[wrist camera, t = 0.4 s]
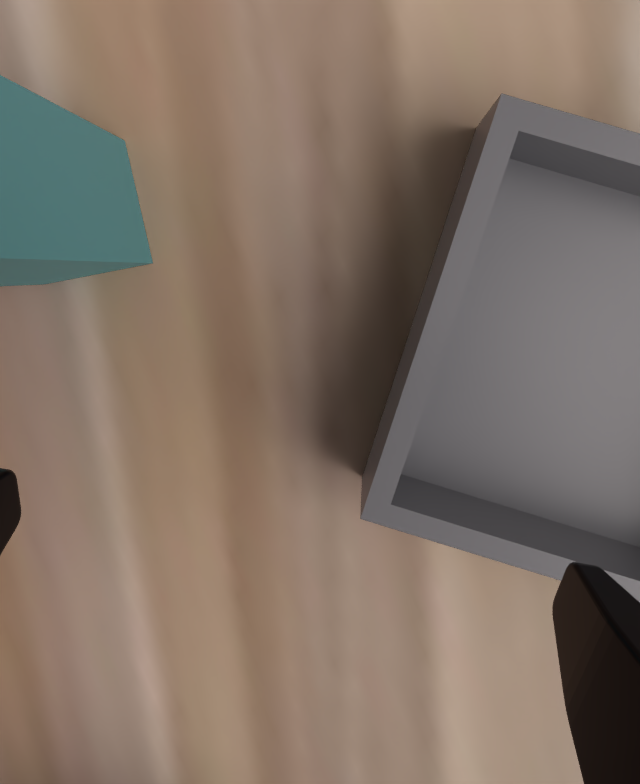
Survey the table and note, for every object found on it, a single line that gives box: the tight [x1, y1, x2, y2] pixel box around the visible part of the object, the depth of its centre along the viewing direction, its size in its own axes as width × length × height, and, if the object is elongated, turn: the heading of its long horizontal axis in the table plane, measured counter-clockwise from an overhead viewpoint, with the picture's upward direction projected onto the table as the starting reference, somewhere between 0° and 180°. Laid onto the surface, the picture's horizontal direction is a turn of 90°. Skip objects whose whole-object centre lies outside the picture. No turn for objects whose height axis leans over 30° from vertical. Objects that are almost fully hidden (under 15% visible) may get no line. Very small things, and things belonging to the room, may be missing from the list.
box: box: [360, 94, 640, 602], centre depth 20 cm, size 14×14×4 cm
